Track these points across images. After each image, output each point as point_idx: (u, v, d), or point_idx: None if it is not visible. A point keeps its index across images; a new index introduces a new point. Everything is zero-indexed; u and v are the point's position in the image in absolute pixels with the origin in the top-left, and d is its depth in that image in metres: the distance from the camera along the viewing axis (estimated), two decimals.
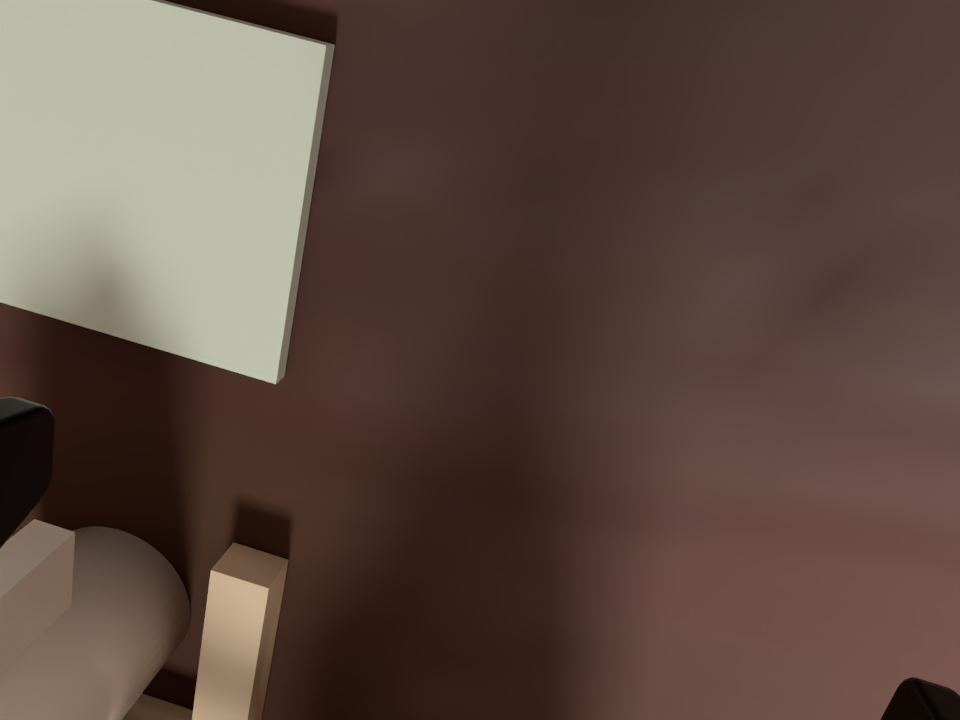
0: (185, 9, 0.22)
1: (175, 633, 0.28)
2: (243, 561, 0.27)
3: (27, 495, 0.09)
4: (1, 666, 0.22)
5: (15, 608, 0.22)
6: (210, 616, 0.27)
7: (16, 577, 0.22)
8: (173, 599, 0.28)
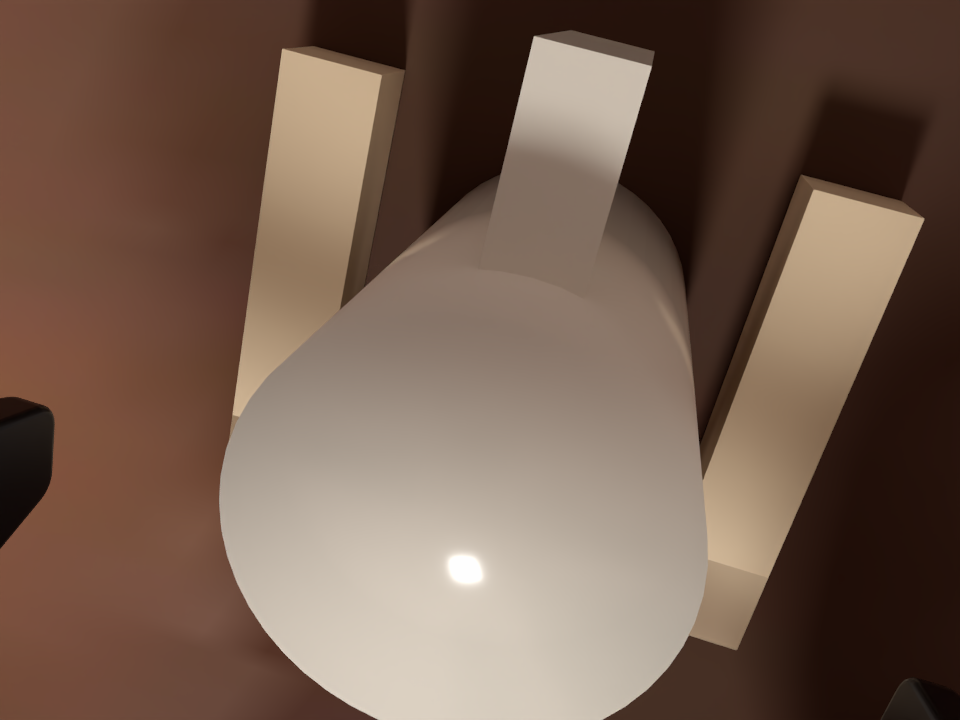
0: None
1: None
2: (844, 191, 0.15)
3: (27, 495, 0.09)
4: None
5: None
6: (787, 287, 0.15)
7: (641, 55, 0.10)
8: (682, 281, 0.16)
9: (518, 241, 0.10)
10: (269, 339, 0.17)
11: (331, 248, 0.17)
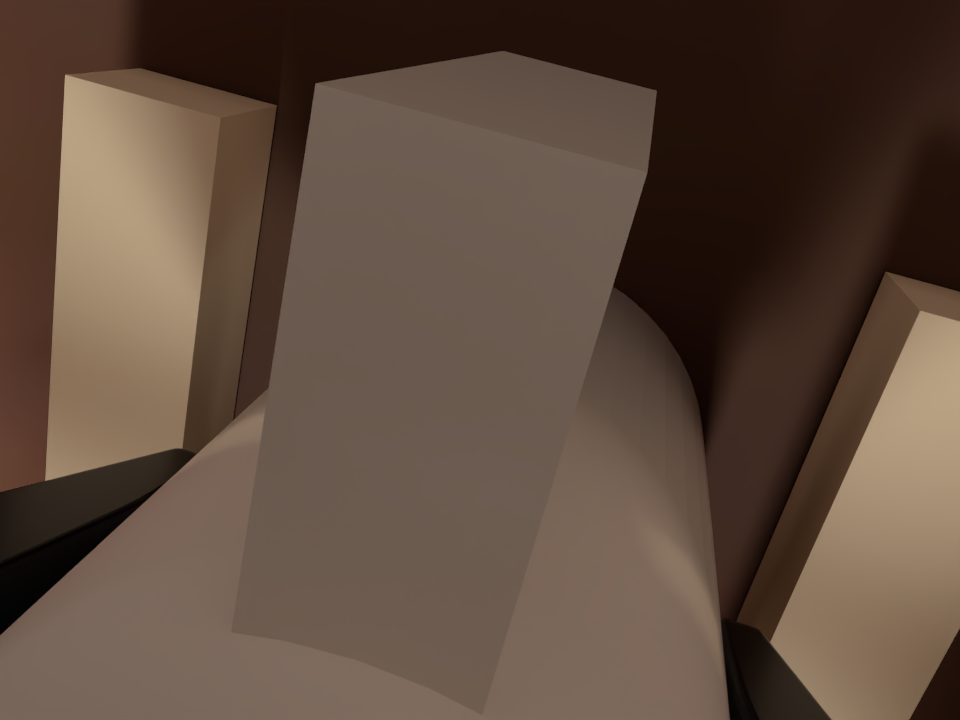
0: None
1: None
2: None
3: None
4: None
5: None
6: (870, 460, 0.09)
7: (627, 113, 0.05)
8: (700, 433, 0.11)
9: (317, 582, 0.04)
10: None
11: (161, 378, 0.11)
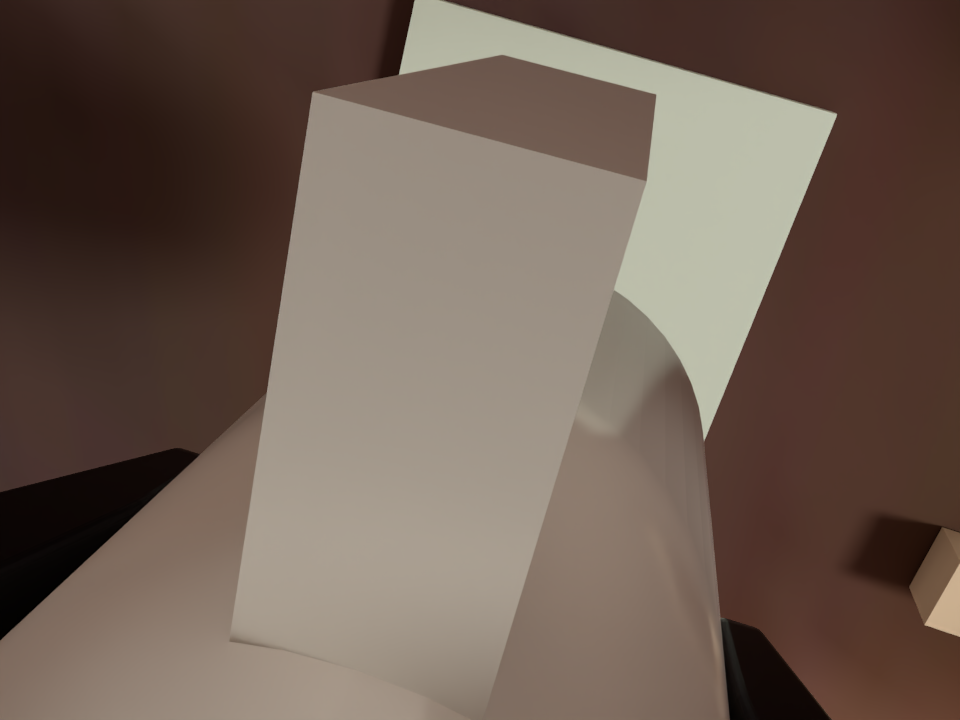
0: None
1: None
2: None
3: None
4: None
5: None
6: None
7: (627, 119, 0.05)
8: None
9: (316, 590, 0.04)
10: None
11: None
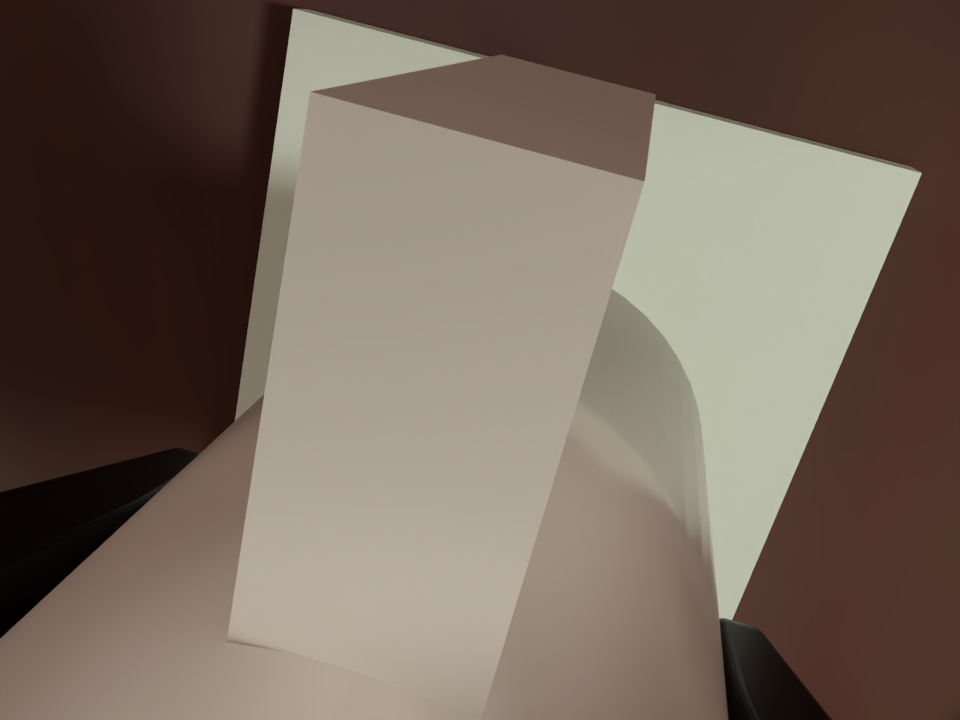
0: (262, 245, 0.14)
1: None
2: None
3: None
4: None
5: None
6: None
7: (625, 119, 0.05)
8: None
9: (313, 593, 0.04)
10: None
11: None
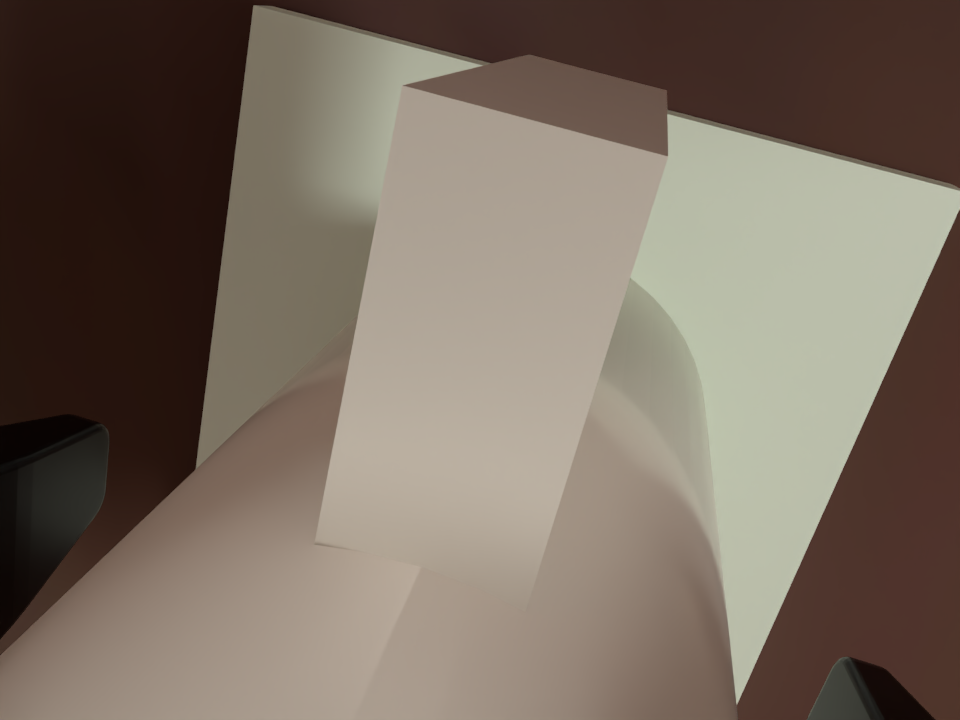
0: (223, 269, 0.13)
1: None
2: None
3: (82, 513, 0.09)
4: None
5: None
6: None
7: (644, 110, 0.06)
8: (703, 408, 0.11)
9: (390, 499, 0.05)
10: None
11: None
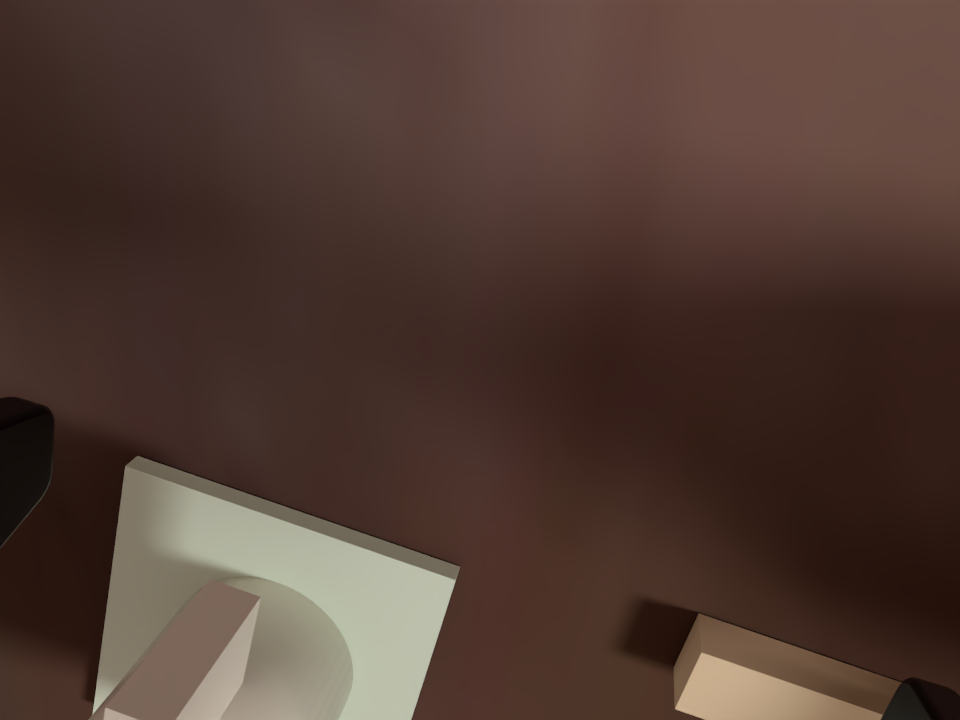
0: (112, 575, 0.25)
1: (340, 708, 0.23)
2: (683, 667, 0.22)
3: (27, 495, 0.09)
4: None
5: (204, 699, 0.18)
6: None
7: (208, 660, 0.17)
8: (340, 668, 0.23)
9: None
10: None
11: None
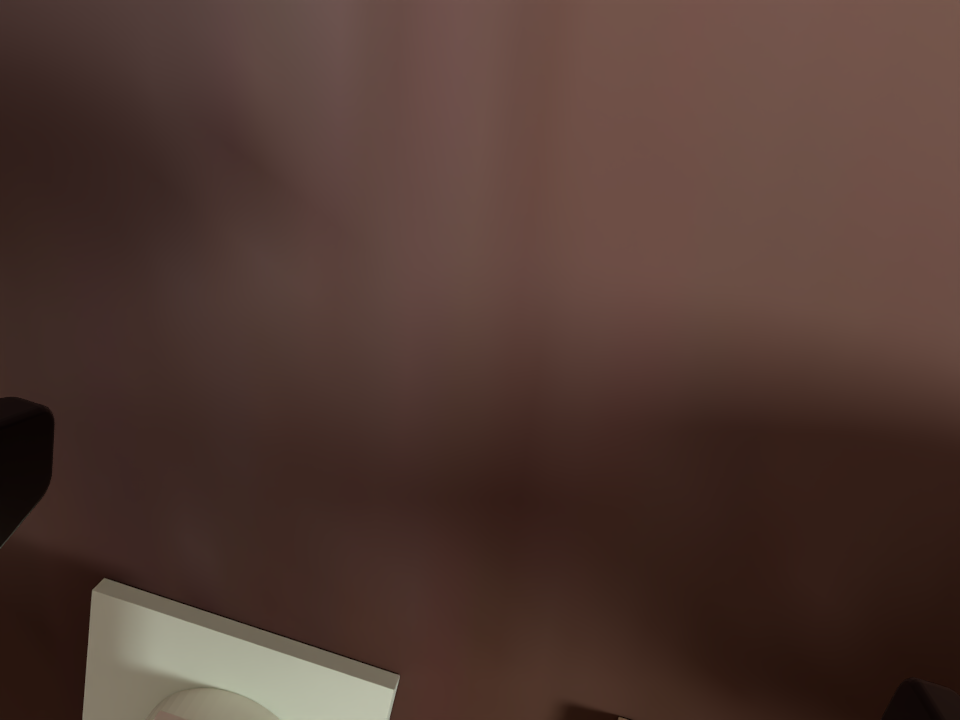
0: (86, 685, 0.27)
1: None
2: None
3: (27, 495, 0.09)
4: None
5: None
6: None
7: None
8: None
9: None
10: None
11: None
